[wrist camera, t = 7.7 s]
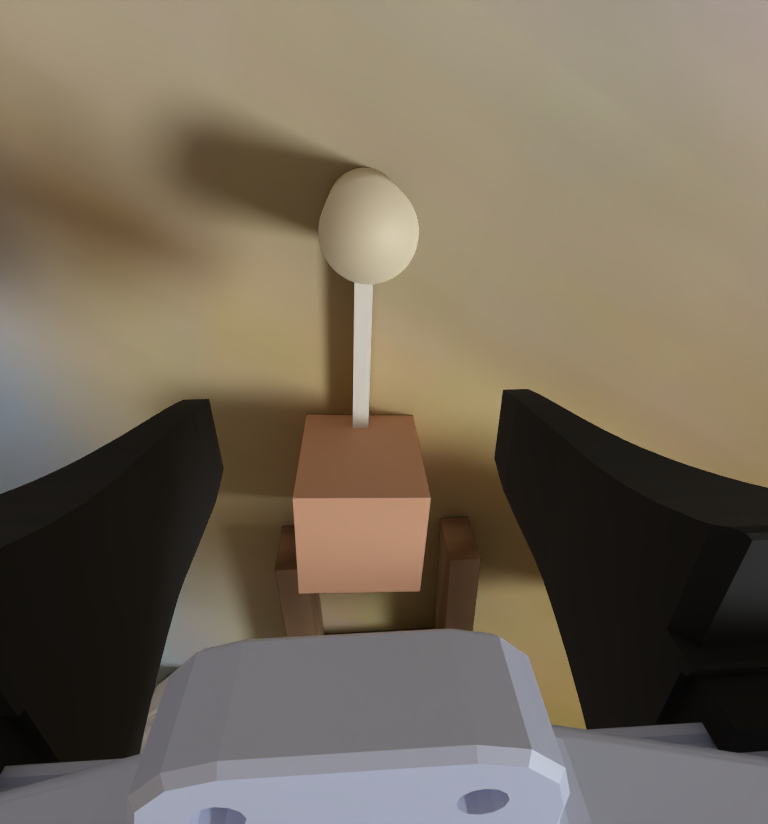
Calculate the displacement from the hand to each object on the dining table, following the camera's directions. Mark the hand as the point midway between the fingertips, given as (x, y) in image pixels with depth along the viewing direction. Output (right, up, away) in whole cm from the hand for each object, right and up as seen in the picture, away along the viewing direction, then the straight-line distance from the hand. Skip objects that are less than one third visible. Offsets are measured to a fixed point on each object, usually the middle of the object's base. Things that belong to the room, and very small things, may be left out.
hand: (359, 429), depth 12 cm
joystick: (0, +3, +9) cm, 10 cm away
